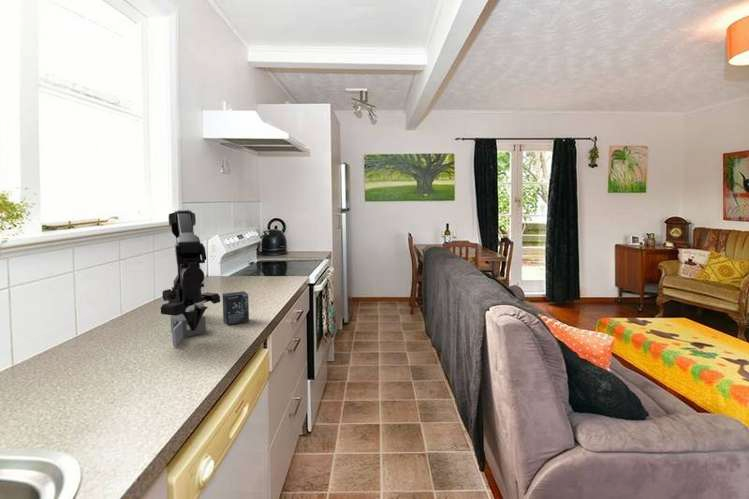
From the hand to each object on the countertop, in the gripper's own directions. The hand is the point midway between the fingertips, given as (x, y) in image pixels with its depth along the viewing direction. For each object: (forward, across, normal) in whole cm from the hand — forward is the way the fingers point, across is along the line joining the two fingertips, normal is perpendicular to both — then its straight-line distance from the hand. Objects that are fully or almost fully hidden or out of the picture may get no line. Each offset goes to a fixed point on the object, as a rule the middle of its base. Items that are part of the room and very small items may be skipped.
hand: (193, 330), depth 133 cm
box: (+4, -22, -2) cm, 22 cm away
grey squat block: (+3, -6, -9) cm, 11 cm away
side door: (+3, +3, -3) cm, 5 cm away
